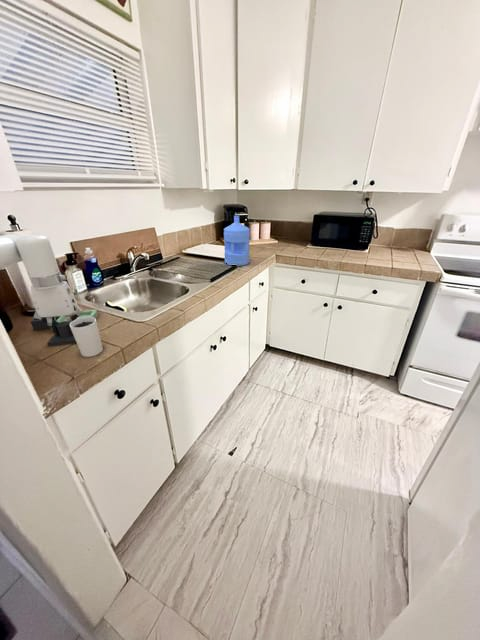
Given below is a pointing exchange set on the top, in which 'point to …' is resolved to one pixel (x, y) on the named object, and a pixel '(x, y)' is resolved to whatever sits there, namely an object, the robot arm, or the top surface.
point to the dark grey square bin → (40, 324)
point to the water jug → (236, 243)
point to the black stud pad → (62, 335)
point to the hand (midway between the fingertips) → (66, 333)
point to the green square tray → (85, 314)
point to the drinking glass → (87, 336)
